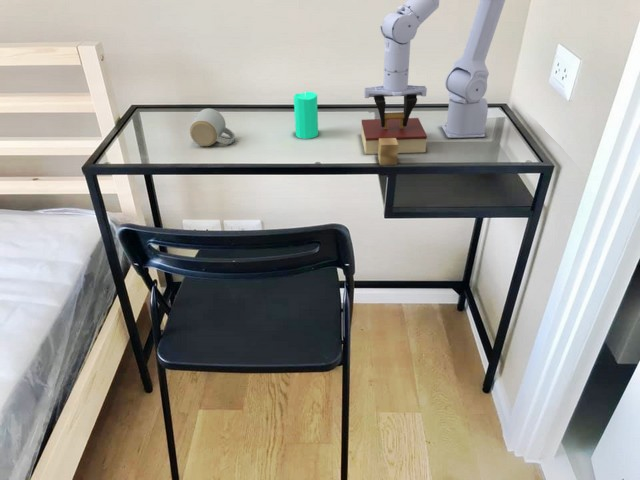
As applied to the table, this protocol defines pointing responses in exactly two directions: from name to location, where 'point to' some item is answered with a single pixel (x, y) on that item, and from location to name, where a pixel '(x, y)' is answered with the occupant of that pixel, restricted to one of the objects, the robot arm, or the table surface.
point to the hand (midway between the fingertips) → (393, 125)
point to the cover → (393, 128)
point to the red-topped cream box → (403, 145)
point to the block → (387, 151)
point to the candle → (306, 115)
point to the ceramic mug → (210, 128)
